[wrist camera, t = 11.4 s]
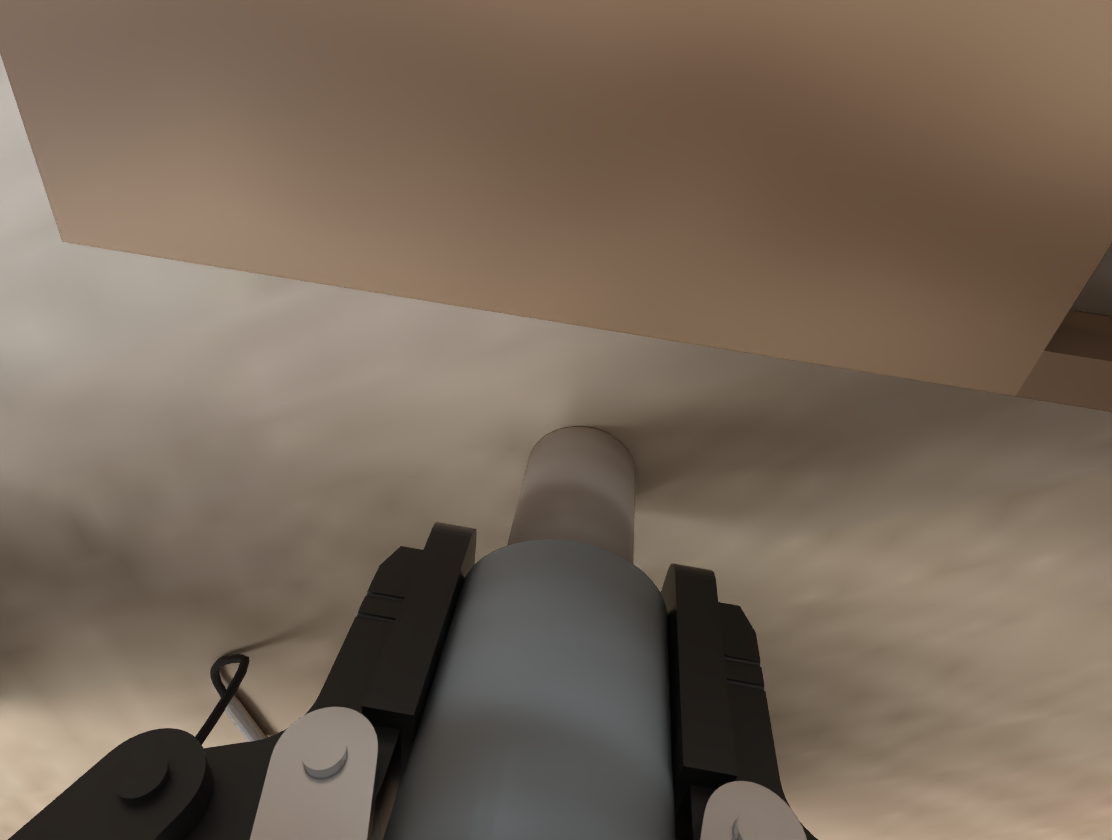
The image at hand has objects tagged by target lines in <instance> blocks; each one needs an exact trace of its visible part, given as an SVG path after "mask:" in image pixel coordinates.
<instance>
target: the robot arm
mask: <svg viewBox="0 0 1112 840" xmlns="http://www.w3.org/2000/svg"><path fill="white" fill-rule="evenodd" d="M475 549H476V529H473V528H467V527H461V526H455V525H450V524H444V523H438V522H436V523H435V524H434V526H433V528H432V530H431V533H430V535H429V538H428V540H427V543H426V545H425V548H424V550H420V549H414V548H408V547H402V546H401V547H400V548H398V549H397V550H396V551H395V552H394V553H393V554H392V555H391V556H390V557H389V558H388V559H386V560H385V561H384V562H383V563H382V564H381V565H380V566H379V568H378V570H377V572H376V574H375V577H374V579H373V581H372V583H371V585H370V587H369V589H368V593H367V596H365V598H364V600H363V602H362V604H361V607H360V609H359V611H358V615H357V617H355V619H354V622H353V624H352V626H351V628H350V630H349V632H348V635H347V637H346V639H345V641H344V643H343V645H342V647H341V650H340V652H339V654H338V656H337V658H336V660H335V662H334V665H333V667H332V669H331V671H330V673H329V675H328V677H327V680H326V682H325V684H324V686H323V688H322V690H321V692H320V695H319V696H318V698H317V700H316V702H315V703H314V705H313V706H312V707H311V709H310V710H309V711H308V712H307V713H306V714H305V715H304V716H303V717H301V718H299V719H298V720H297V721H295V722H294V723H293V724H291V725H290V727H289V728H287V729H286V730H284V731H282V732H280V733H278V734H276V735H273V736H271V737H268V738H265V739H261V740H256V741H251V742H244V743H237V744H230V745H224V746H217V747H210V748H204V749H203V747H202V745H201V744H200V742H199V741H198V740H197V739H196V738H195V737H194V736H193V735H191V734H190V733H188V732H186V731H182V730H179V729H171V728H165V729H156V730H151V731H148V732H145V733H142V734H139V735H137V736H134V737H132V738H130V739H128V740H127V741H125V742H123V743H122V744H120V745H118V746H117V747H116V748H115V749H113V750H112V751H111V752H109V753H108V754H107V755H106V756H105V757H104V758H102V759H101V760H100V761H99V762H98V763H97V764H95V765H94V766H93V767H92V768H91V769H90V770H88V771H87V772H86V773H85V774H84V775H83V776H81V777H80V778H79V779H78V780H77V781H76V782H74V783H73V784H72V785H71V786H70V787H69V788H67V789H66V790H65V791H64V792H63V793H62V794H60V795H59V796H58V797H57V798H56V799H55V800H53V801H52V802H51V803H50V804H49V805H48V806H46V807H45V808H44V809H43V810H42V811H41V812H39V813H38V814H37V815H36V816H35V817H34V818H32V819H31V820H30V821H29V822H28V823H27V824H26V825H24V826H23V827H22V828H21V829H20V830H19V831H17V832H16V833H15V834H14V835H13V836H12V837H10V838H9V839H8V840H383V837H384V834H385V831H386V827H387V824H388V821H389V818H390V815H391V811H392V808H393V805H394V802H395V798H396V795H397V792H398V789H399V785H400V782H401V779H402V776H403V772H404V769H405V766H406V763H407V760H408V756H409V753H410V750H411V747H412V745H413V742H414V739H415V736H416V733H417V730H418V727H419V723H420V720H421V717H422V714H423V710H424V707H425V704H426V701H427V697H428V694H429V691H430V688H431V685H432V681H433V678H434V675H435V672H436V668H437V665H438V662H439V659H440V655H441V652H442V649H443V646H444V643H445V639H446V636H447V633H448V630H449V626H450V623H451V620H452V617H453V613H454V610H455V607H456V604H457V601H458V597H459V594H460V591H461V588H462V584H463V581H464V578H465V577H466V575H467V573H468V572H469V571H470V569H471V568H472V567H473V566H474V564H475ZM661 595H662V596H663V599H664V602H665V604H666V608H667V614H668V641H669V672H670V703H671V733H672V764H673V790H674V812H675V840H818V839H817V838H815V837H814V836H813V835H812V834H811V833H810V832H809V831H808V830H807V829H806V828H805V827H804V826H803V825H802V823H801V822H800V821H799V820H798V818H797V816H796V815H795V814H794V812H793V811H792V809H791V808H790V806H789V804H788V802H787V800H786V798H785V795H784V793H783V790H782V786H781V782H780V777H779V771H778V765H777V759H776V753H775V747H774V741H773V735H772V729H771V723H770V717H769V711H768V705H767V699H766V693H765V691H764V680H763V674H762V668H761V667H760V656H759V650H758V644H757V638H756V633H755V631H754V629H753V628H752V626H751V624H750V623H749V621H748V619H747V617H746V616H745V614H744V612H743V611H742V609H741V607H740V606H737V605H731V604H725V603H720V602H718V596H717V587H716V579H715V574H714V572H713V571H712V570H706V569H701V568H695V567H689V566H683V565H677V564H671V565H670V567H669V569H668V572H667V575H666V578H665V582H664V585H663V588H662V591H661Z"/></svg>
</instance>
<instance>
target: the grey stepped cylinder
mask: <svg viewBox="0 0 1112 840" xmlns="http://www.w3.org/2000/svg"><path fill="white" fill-rule="evenodd" d="M634 505H635V465H634V461H633V458H632V456H631V454H630V453H629V451H628V450H627V448H626V447H625V446H624V445H623V444H622V443H621V442H620V441H619V440H617V439H616V438H615V437H613V436H611V435H610V434H608V433H606V432H603V431H601V430H598V429H594V428H589V427H567V428H562V429H559V430H556V431H553V432H551V433H549V434H547V435H546V436H545V437H543V438H542V439H541V440H540V441H538V443H537V444H536V445H535V446H534V448H533V450H532V451H531V454H530V456H529V460H528V464H527V468H526V472H525V476H524V480H523V484H522V488H521V492H520V496H519V500H518V504H517V508H516V512H515V516H514V520H513V524H512V528H511V532H510V536H509V540H508V544H507V546H505V547H503V548H500V549H498V550H496V551H493V552H492V553H490V554H488V555H487V556H485V557H483V558H482V559H481V560H480V561H479V562H477V563H476V564H475V565H474V566H473V567H472V568H471V569H470V571H469V572H468V573H467V575H466V577H465V578H464V581H463V584H462V588H461V591H460V594H459V597H458V601H457V604H456V607H455V610H454V613H453V617H452V620H451V623H450V626H449V630H448V633H447V636H446V639H445V643H444V646H443V649H442V652H441V655H440V659H439V662H438V665H437V668H436V672H435V675H434V678H433V681H432V685H431V688H430V691H429V694H428V697H427V701H426V704H425V707H424V710H423V714H422V717H421V720H420V723H419V727H418V730H417V733H416V736H415V739H414V742H413V745H412V747H411V750H410V753H409V756H408V760H407V763H406V766H405V769H404V772H403V776H402V779H401V782H400V785H399V789H398V792H397V795H396V798H395V802H394V805H393V808H392V811H391V815H390V818H389V821H388V824H387V827H386V831H385V834H384V837H383V840H675V812H674V790H673V764H672V733H671V703H670V672H669V641H668V614H667V608H666V604H665V602H664V599H663V596H662V595H661V593H660V591H659V590H658V588H657V586H656V585H655V584H654V583H653V582H652V580H651V579H650V578H649V577H648V576H647V575H646V574H645V573H644V572H643V571H642V570H640V569H639V568H638V567H636V566H635V565H633V549H634Z"/></svg>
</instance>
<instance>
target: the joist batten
mask: <svg viewBox="0 0 1112 840" xmlns="http://www.w3.org/2000/svg"><path fill="white" fill-rule="evenodd" d="M0 54H1V57H2V60H3V63H4V66H5V69H6V72H7V75H8V78H9V81H10V84H11V87H12V90H13V93H14V96H15V99H16V102H17V105H18V109H19V112H20V115H21V118H22V121H23V124H24V127H25V130H26V133H27V136H28V139H29V142H30V145H31V148H32V151H33V154H34V157H35V160H36V163H37V166H38V169H39V172H40V175H41V178H42V181H43V184H44V187H45V190H46V193H47V197H48V200H49V203H50V206H51V209H52V212H53V215H54V218H55V221H56V224H57V227H58V230H59V233H60V236H61V239H62V242H67V243H73V244H79V245H85V246H92V247H98V248H104V249H110V250H116V251H122V252H129V253H135V254H141V255H147V256H153V257H159V258H166V259H172V260H178V261H184V262H190V263H196V264H203V265H209V266H215V267H221V268H227V269H233V270H240V271H246V272H252V273H258V274H264V275H270V276H277V277H283V278H289V279H295V280H301V281H307V282H314V283H320V284H326V285H332V286H338V287H344V288H351V289H357V290H363V291H369V292H375V293H381V294H388V295H394V296H400V297H406V298H412V299H418V300H425V301H431V302H437V303H443V304H449V305H455V306H462V307H468V308H474V309H480V310H486V311H492V312H499V313H505V314H511V315H517V316H523V317H529V318H536V319H542V320H548V321H554V322H560V323H566V324H573V325H579V326H585V327H591V328H597V329H603V330H610V331H616V332H622V333H628V334H634V335H640V336H647V337H653V338H659V339H665V340H671V341H677V342H684V343H690V344H696V345H702V346H708V347H714V348H721V349H727V350H733V351H739V352H745V353H751V354H758V355H764V356H770V357H776V358H782V359H788V360H795V361H801V362H807V363H813V364H819V365H825V366H832V367H838V368H844V369H850V370H856V371H862V372H869V373H875V374H881V375H887V376H893V377H899V378H906V379H912V380H918V381H924V382H930V383H937V384H943V385H949V386H955V387H961V388H967V389H974V390H980V391H986V392H992V393H998V394H1004V395H1011V396H1017V397H1023V398H1029V399H1035V400H1041V401H1048V402H1054V403H1060V404H1066V405H1072V406H1078V407H1085V408H1091V409H1097V410H1103V411H1109V412H1112V317H1110V316H1104V315H1097V314H1091V313H1085V312H1078V311H1072V310H1070V308H1071V307H1072V305H1073V304H1074V302H1075V300H1076V299H1077V297H1078V296H1079V294H1080V292H1081V291H1082V289H1083V288H1084V286H1085V284H1086V283H1087V281H1088V280H1089V278H1090V277H1091V275H1092V273H1093V272H1094V270H1095V269H1096V267H1097V265H1098V264H1099V262H1100V261H1101V259H1102V257H1103V256H1104V254H1105V253H1106V251H1107V249H1108V248H1109V246H1110V245H1111V243H1112V0H0Z"/></svg>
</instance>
